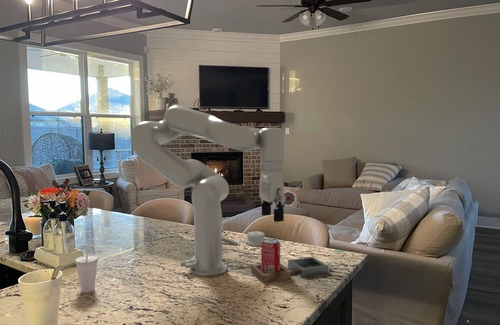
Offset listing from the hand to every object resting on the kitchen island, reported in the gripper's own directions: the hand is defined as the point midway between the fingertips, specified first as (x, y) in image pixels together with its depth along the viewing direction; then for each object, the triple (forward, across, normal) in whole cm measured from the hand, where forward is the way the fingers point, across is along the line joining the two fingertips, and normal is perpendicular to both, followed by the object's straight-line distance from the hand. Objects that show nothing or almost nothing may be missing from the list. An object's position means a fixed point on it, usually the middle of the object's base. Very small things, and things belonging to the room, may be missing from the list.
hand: (272, 218), depth 122 cm
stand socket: (+19, 0, -1) cm, 19 cm away
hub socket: (+20, 0, +11) cm, 23 cm away
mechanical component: (+20, -36, +9) cm, 42 cm away
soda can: (+20, 0, -1) cm, 20 cm away
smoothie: (+19, -9, -57) cm, 60 cm away
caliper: (+19, -42, -7) cm, 47 cm away
